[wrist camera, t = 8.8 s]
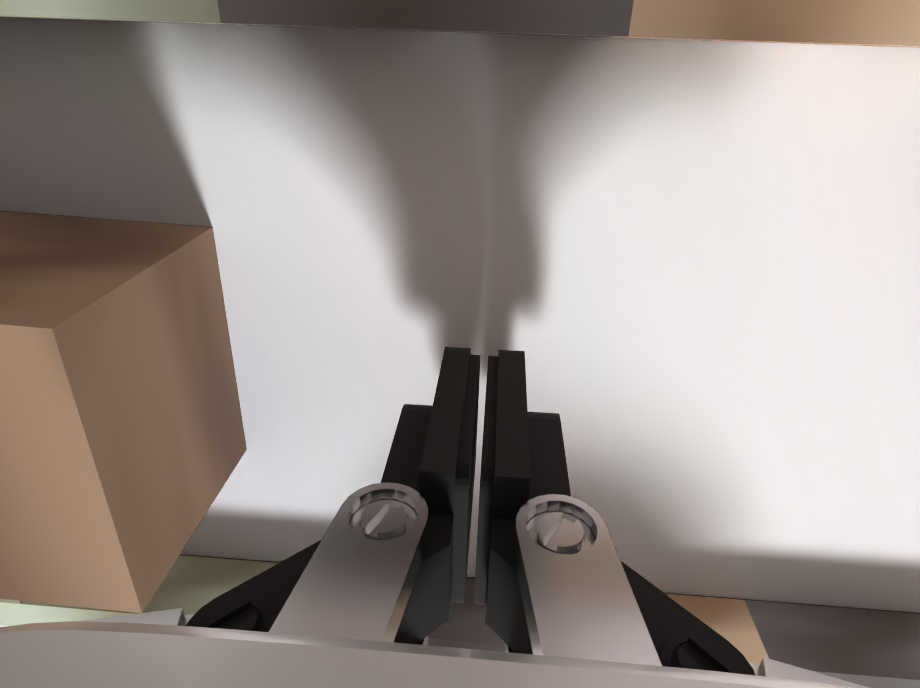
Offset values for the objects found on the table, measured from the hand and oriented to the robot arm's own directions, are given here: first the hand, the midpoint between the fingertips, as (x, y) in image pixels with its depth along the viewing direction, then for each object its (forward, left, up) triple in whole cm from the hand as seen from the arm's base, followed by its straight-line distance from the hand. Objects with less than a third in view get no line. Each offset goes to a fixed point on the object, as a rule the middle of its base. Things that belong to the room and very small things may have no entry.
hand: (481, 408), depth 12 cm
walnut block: (+9, 0, -2) cm, 9 cm away
